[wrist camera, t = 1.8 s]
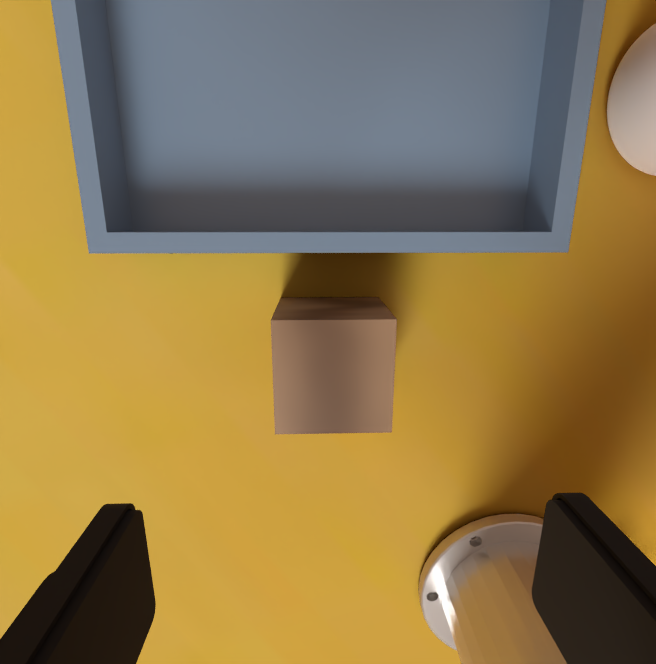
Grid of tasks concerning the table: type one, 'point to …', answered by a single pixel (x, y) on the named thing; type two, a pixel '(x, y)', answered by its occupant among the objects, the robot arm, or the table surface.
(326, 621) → the table surface
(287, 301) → the walnut block
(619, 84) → the beverage can
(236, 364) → the table surface
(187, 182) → the slate tray
